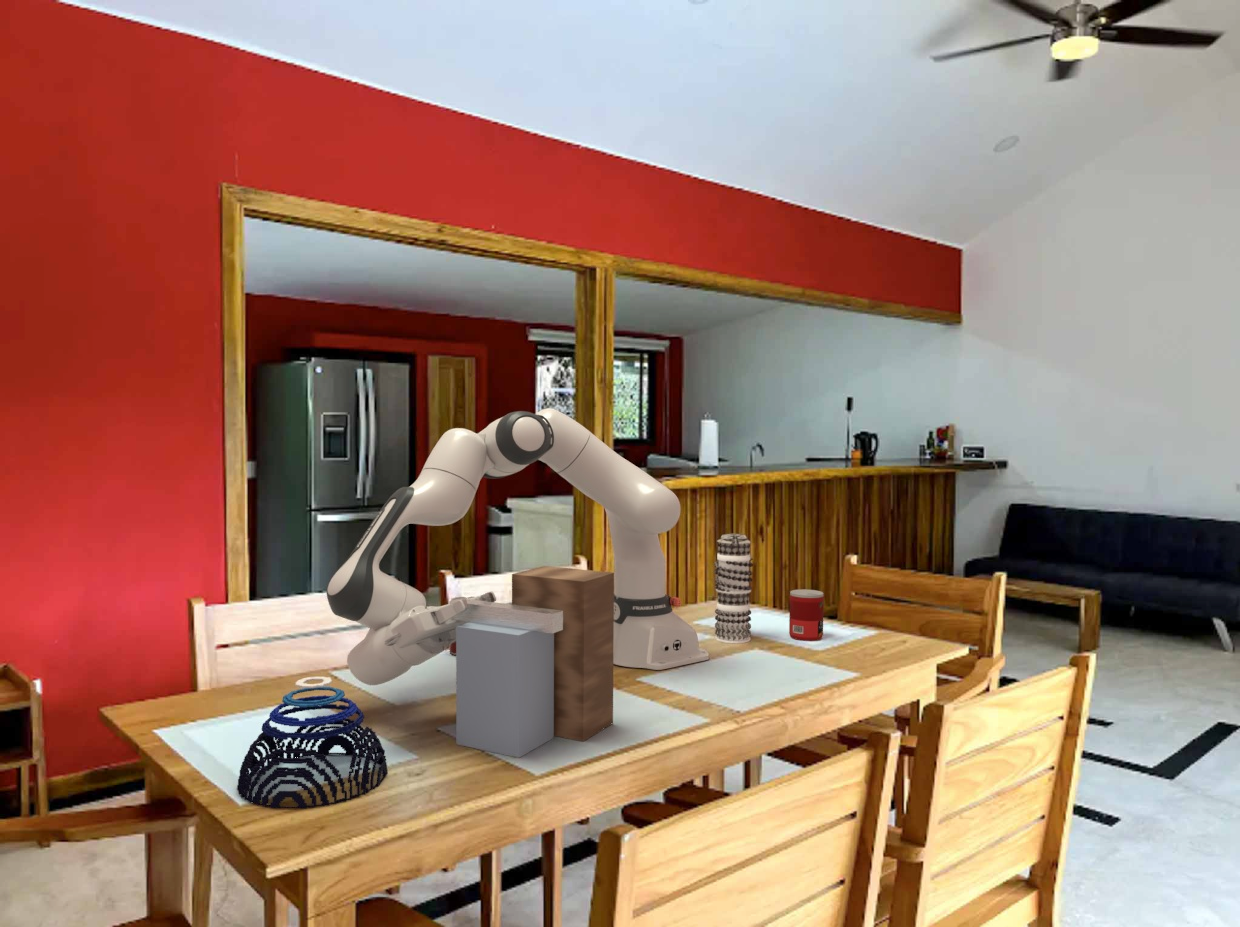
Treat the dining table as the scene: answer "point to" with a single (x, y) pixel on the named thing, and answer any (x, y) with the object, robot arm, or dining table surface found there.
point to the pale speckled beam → (511, 616)
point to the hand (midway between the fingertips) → (479, 599)
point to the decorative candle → (733, 589)
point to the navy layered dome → (323, 749)
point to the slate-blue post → (504, 688)
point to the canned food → (806, 615)
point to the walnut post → (576, 643)
